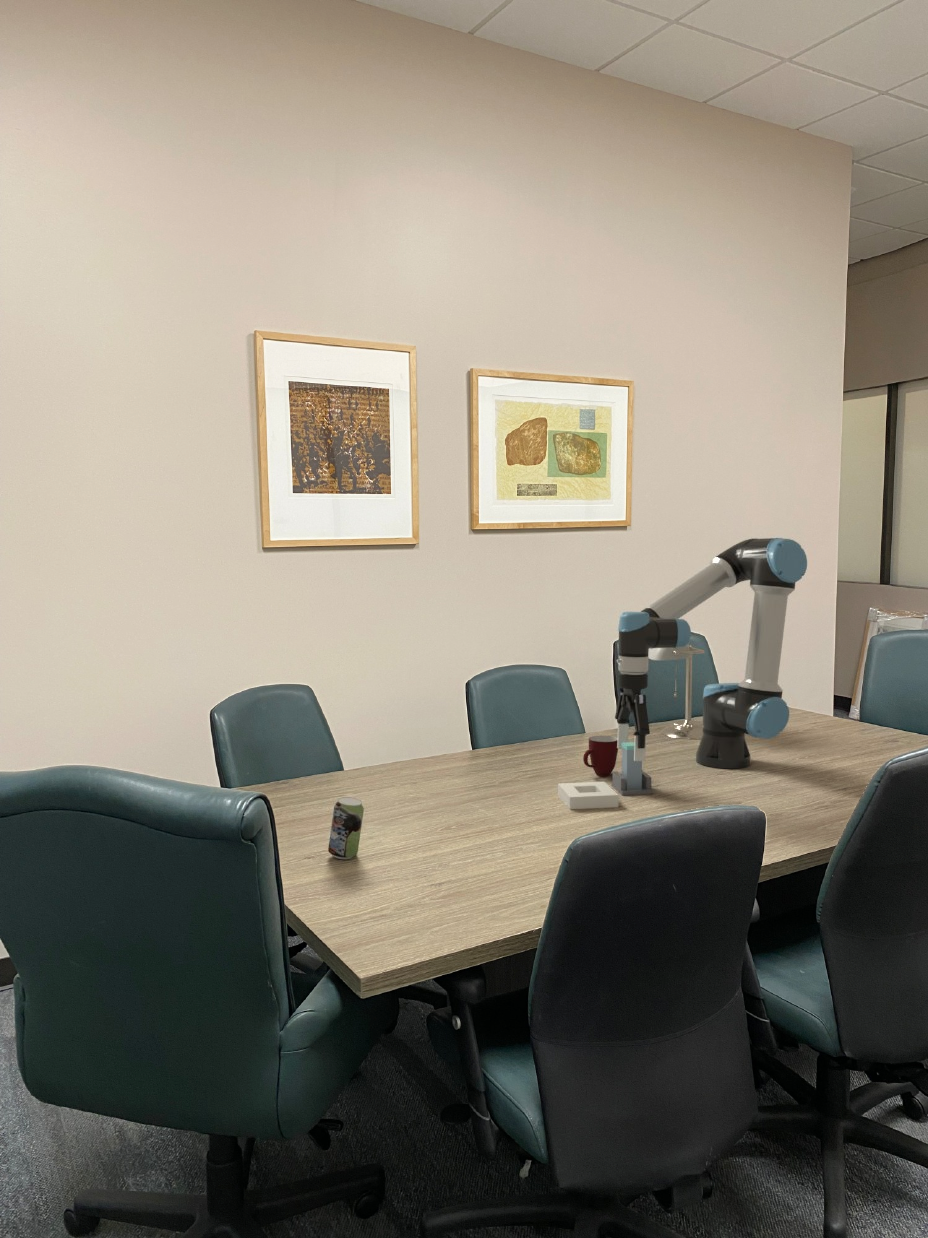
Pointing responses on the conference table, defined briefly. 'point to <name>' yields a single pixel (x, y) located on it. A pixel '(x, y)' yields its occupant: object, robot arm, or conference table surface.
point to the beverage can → (346, 828)
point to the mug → (602, 754)
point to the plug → (631, 767)
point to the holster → (620, 786)
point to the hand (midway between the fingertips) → (630, 754)
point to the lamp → (679, 727)
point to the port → (587, 795)
